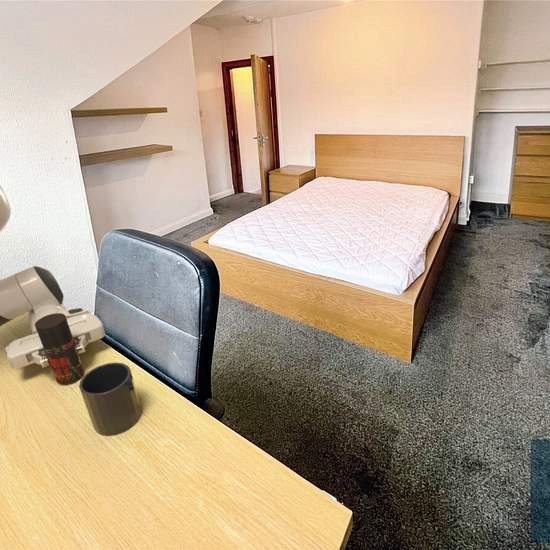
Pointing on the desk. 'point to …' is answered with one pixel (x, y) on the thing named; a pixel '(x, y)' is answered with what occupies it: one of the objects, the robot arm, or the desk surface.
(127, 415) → the pen pot
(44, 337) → the deodorant
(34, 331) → the robot arm
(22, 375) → the desk surface
